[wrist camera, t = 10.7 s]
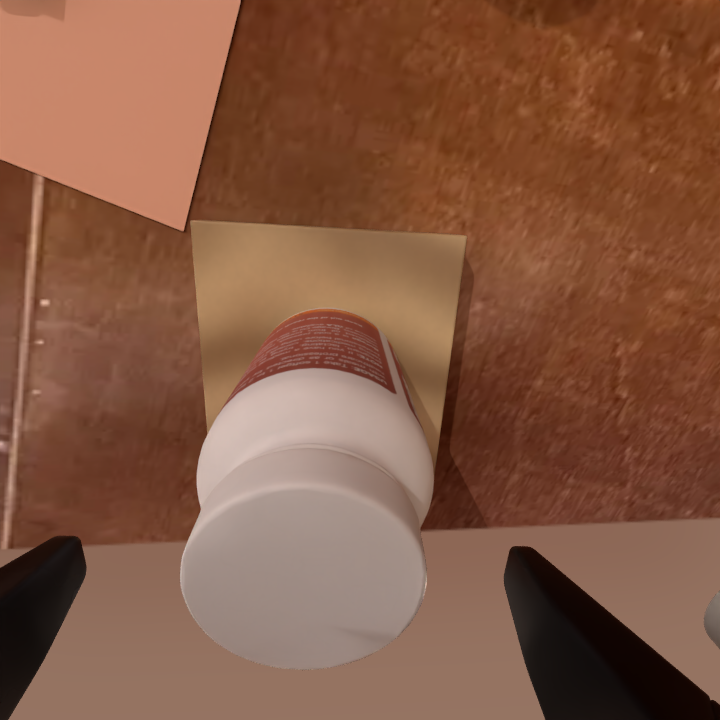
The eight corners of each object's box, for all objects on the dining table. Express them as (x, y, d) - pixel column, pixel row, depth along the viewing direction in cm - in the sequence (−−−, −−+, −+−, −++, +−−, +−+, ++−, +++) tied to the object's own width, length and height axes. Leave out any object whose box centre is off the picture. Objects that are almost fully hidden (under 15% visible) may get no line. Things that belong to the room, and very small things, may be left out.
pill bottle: (229, 371, 18) (61, 590, 7) (328, 273, 16) (294, 370, 6) (329, 457, 19) (307, 736, 9) (426, 374, 18) (532, 589, 8)
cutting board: (427, 468, 22) (433, 486, 20) (219, 461, 21) (210, 479, 20) (458, 234, 18) (467, 235, 16) (202, 219, 17) (189, 220, 16)
